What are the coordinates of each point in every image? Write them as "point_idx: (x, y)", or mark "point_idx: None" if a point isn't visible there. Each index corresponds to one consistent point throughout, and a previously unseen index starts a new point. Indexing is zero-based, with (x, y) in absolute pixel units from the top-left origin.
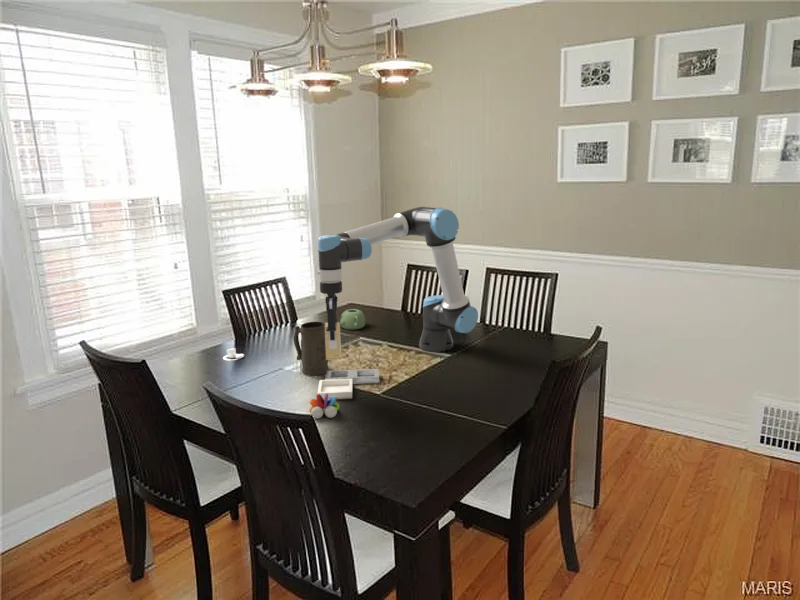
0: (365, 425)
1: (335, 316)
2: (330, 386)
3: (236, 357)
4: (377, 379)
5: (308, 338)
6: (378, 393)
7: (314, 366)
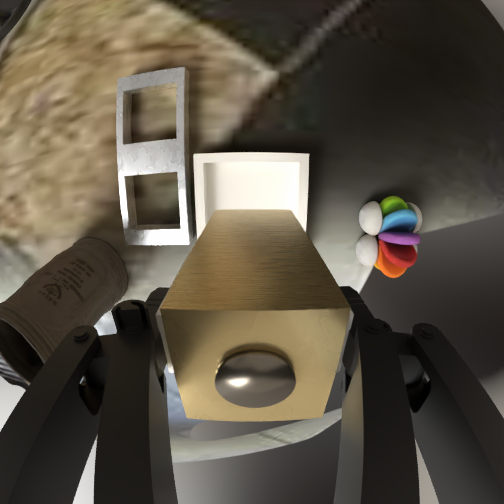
0: (445, 140)
1: (149, 406)
2: None
3: None
4: (186, 74)
5: None
6: (273, 75)
7: (115, 283)
